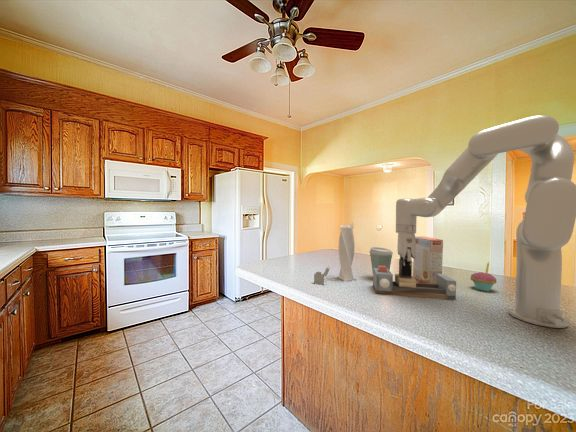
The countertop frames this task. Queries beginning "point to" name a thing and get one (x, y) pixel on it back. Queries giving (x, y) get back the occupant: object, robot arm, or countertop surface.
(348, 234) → the skyscraper
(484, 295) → the countertop surface
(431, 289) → the track
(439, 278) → the grey rectangular block
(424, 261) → the cracker box
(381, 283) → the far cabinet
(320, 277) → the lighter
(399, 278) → the carriage
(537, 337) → the countertop surface
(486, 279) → the cupcake
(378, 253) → the disposable coffee cup
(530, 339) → the countertop surface
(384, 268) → the button
